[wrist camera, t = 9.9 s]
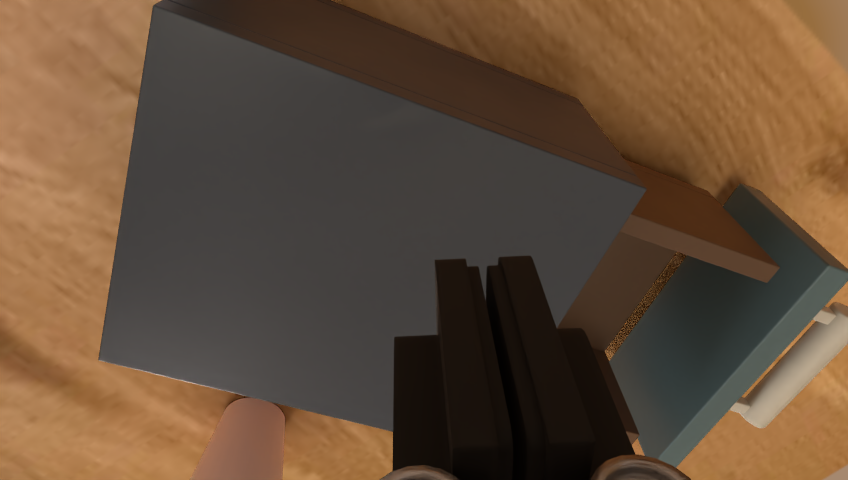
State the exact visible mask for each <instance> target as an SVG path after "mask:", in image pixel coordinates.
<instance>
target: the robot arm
mask: <svg viewBox="0 0 848 480" xmlns="http://www.w3.org/2000/svg"><path fill="white" fill-rule="evenodd" d="M434 267H435V307H436V335H419V336H398V337H394V393H393V471H392V472H390V473H389V474H387V475H386V476H384V477H383V478H381V479H380V480H691V479H690V478H689V477H688V476H686V475H685V474H684V473H682V472H681V471H679V470H678V469H677V468H675V467H674V466H672V465H670V464H668V463H665V462H663V461H661V460H659V459H656V458H652V457H647V456H642V455H635V452H634V450H633V448H632V445H631V443H630V440H629V438H628V435H627V433H626V430H625V428H624V425H623V423H622V421H621V418H620V416H619V413H618V411H617V408H616V406H615V403H614V401H613V398H612V396H611V393H610V391H609V389H608V386H607V384H606V381H605V379H604V376H603V374H602V371H601V369H600V366H599V364H598V361H597V359H596V357H595V354H594V352H593V349H592V347H591V344H590V342H589V339H588V337H587V335H586V333H585V331H584V330H583V329H582V328H567V329H557V328H556V325H555V322H554V319H553V316H552V313H551V310H550V307H549V305H548V302H547V299H546V296H545V293H544V290H543V287H542V284H541V281H540V279H539V276H538V273H537V270H536V267H535V264H534V261H533V259H532V257H531V256H508V257H499V259H498V265H491V266H487V273H486V301H485V296H484V291H483V286H482V281H481V276H480V271H479V267H478V266H469V267H467V262H466V259H465V258H464V259H442V260H435V262H434Z"/></svg>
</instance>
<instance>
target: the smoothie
mask: <svg viewBox="0 0 848 480" xmlns="http://www.w3.org/2000/svg"><path fill="white" fill-rule="evenodd" d="M284 437H285V416H284V414H283V412H282V411H281V409H280V408H279V407H278V406H276V405H275V404H273V403H271V402H268V401H264V400H260V399H256V398H242V399H239V400H236V401H234V402H232V403H231V404H229V405H228V406H227V408H226V409H225V411H224V413H223V415H222V417H221V419H220V421H219V423H218V425H217V427H216V429H215V431H214V433H213V435H212V437H211V439H210V441H209V443H208V445H207V447H206V449H205V451H204V453H203V455H202V457H201V459H200V461H199V463H198V465H197V467H196V469H195V471H194V473H193V475H192V477H191V479H190V480H282V474H283V456H284Z"/></svg>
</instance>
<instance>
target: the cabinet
mask: <svg viewBox="0 0 848 480" xmlns="http://www.w3.org/2000/svg"><path fill="white" fill-rule="evenodd" d="M646 190H647V188H646V187H645V186H644V184H643V183H642V182H641V180H640V179H639V178H638V177H637V176H636V174H635V173H634V172H633V170H632V169H631V168H630V166H629V165H628V164H627V163H626V161H625V160H624V159H623V157H622V156H621V155H620V153H619V152H618V151H617V150H616V148H615V147H614V146H613V144H612V143H611V142H610V140H609V139H608V138H607V137H606V135H605V134H604V133H603V131H602V130H601V129H600V127H599V126H598V125H597V124H596V122H595V121H594V120H593V118H592V117H591V116H590V114H589V113H588V112H587V111H586V109H585V108H584V107H583V105H582V104H581V103H580V101H579V100H578V99H576V98H574V97H571V96H569V95H566V94H564V93H561V92H559V91H556V90H554V89H551V88H549V87H546V86H544V85H541V84H539V83H536V82H534V81H531V80H529V79H526V78H524V77H521V76H519V75H516V74H514V73H511V72H509V71H506V70H504V69H501V68H499V67H496V66H494V65H491V64H489V63H486V62H484V61H481V60H479V59H476V58H474V57H471V56H469V55H466V54H464V53H461V52H459V51H456V50H454V49H451V48H449V47H446V46H444V45H441V44H439V43H436V42H434V41H431V40H428V39H426V38H423V37H421V36H418V35H416V34H413V33H411V32H408V31H406V30H403V29H401V28H398V27H396V26H393V25H391V24H388V23H386V22H383V21H381V20H378V19H376V18H373V17H371V16H368V15H366V14H363V13H361V12H358V11H356V10H353V9H351V8H348V7H346V6H343V5H341V4H338V3H336V2H333V1H331V0H162V1H160V2H158V3H157V4H155V5H154V6H153V10H152V16H151V23H150V29H149V36H148V42H147V49H146V55H145V61H144V68H143V74H142V81H141V87H140V94H139V100H138V107H137V113H136V120H135V126H134V133H133V139H132V146H131V152H130V159H129V165H128V171H127V178H126V184H125V191H124V197H123V204H122V210H121V217H120V223H119V230H118V236H117V243H116V249H115V256H114V262H113V269H112V275H111V281H110V288H109V294H108V301H107V307H106V314H105V320H104V327H103V333H102V340H101V346H100V353H99V361H103V362H107V363H111V364H116V365H120V366H124V367H128V368H132V369H136V370H140V371H144V372H149V373H153V374H157V375H161V376H165V377H169V378H173V379H177V380H182V381H186V382H190V383H194V384H198V385H202V386H206V387H211V388H215V389H219V390H223V391H227V392H231V393H235V394H239V395H244V396H248V397H252V398H256V399H260V400H264V401H268V402H272V403H277V404H281V405H285V406H289V407H293V408H297V409H301V410H306V411H310V412H314V413H318V414H322V415H326V416H330V417H334V418H339V419H343V420H347V421H351V422H355V423H359V424H363V425H367V426H372V427H376V428H380V429H384V430H388V431H392V432H393V393H394V337H398V336H419V335H436V307H435V267H434V262H435V260H442V259H464V258H465V259H466V262H467V267H469V266H478V267H479V271H480V276H481V281H482V286H483V291H484V296H485V301H486V273H487V266H491V265H498V259H499V257H508V256H531V257H532V259H533V261H534V264H535V267H536V270H537V273H538V276H539V279H540V281H541V284H542V287H543V290H544V293H545V296H546V299H547V302H548V305H549V307H550V310H551V313H552V316H553V319H554V322H555V325H556V328H557V327H558V325H559V324H560V322H561V321H562V319H563V318H564V316H565V315H566V313H567V312H568V310H569V309H570V307H571V305H572V304H573V302H574V301H575V299H576V298H577V296H578V295H579V293H580V292H581V290H582V289H583V287H584V285H585V284H586V282H587V281H588V279H589V278H590V276H591V275H592V273H593V272H594V270H595V269H596V267H597V265H598V264H599V262H600V261H601V259H602V258H603V256H604V255H605V253H606V252H607V250H608V249H609V247H610V245H611V244H612V242H613V241H614V239H615V238H616V236H617V235H618V233H619V232H620V230H621V229H622V227H623V225H624V224H625V222H626V221H627V219H628V218H629V216H630V215H631V213H632V212H633V210H634V209H635V207H636V205H637V204H638V202H639V201H640V199H641V198H642V196H643V195H644V193H645V192H646Z"/></svg>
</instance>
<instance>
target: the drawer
mask: <svg viewBox="0 0 848 480" xmlns="http://www.w3.org/2000/svg"><path fill="white" fill-rule="evenodd" d="M624 160H625V159H624ZM625 161H626V163H627V164H628V165H629V166H630V168H631V169H632V170H633V172H634V173H635V174H636V176H637V177H638V178H639V179H640V180H641V182H642V183H643V184H644V186H645V187H646V188H647V190H646V192H645V193H644V195H643V196H642V198H641V199H640V201H639V202H638V204H637V205H636V207H635V209H634V210H633V212H632V213H631V215H630V216H629V218H628V219H627V221H626V222H625V224H624V225H623V227H622V229H621V230H620V232H619V233H618V235H617V236H616V238H615V239H614V241H613V242H612V244H611V245H610V247H609V249H608V250H607V252H606V253H605V255H604V256H603V258H602V259H601V261H600V262H599V264H598V265H597V267H596V269H595V270H594V272H593V273H592V275H591V276H590V278H589V279H588V281H587V282H586V284H585V285H584V287H583V289H582V290H581V292H580V293H579V295H578V296H577V298H576V299H575V301H574V302H573V304H572V305H571V307H570V309H569V310H568V312H567V313H566V315H565V316H564V318H563V319H562V321H561V322H560V324H559V325H558V327H557V329H567V328H582V329H583V330H584V331H585V333H586V335H587V337H588V339H589V342H590V344H591V347H592V349H593V352H594V354H595V357H596V359H597V361H598V364H599V366H600V369H601V371H602V374H603V376H604V379H605V381H606V384H607V386H608V389H609V391H610V393H611V396H612V398H613V401H614V403H615V406H616V408H617V411H618V413H619V416H620V418H621V421H622V423H623V425H624V428H625V430H626V433H627V435H628V438H629V440H630V443H631V445H632V444H633V443H634V441H635V440H636V439H637V438H638V440H639V443H640V445H641V447H642V450H643V452H644V455H645V456H647V457H652V458H656V459H659V460H661V461H663V462H665V463H668V464H670V465H672V466H674V467H675V468H676V467H677V466H678V465H679V464H680V463H681V462H682V460H683V459H684V458H685V457H686V456H687V455H688V454H689V453H690V452H691V451H692V450H693V449H694V447H695V446H696V445H697V444H698V443H699V442H700V441H701V440H702V439H703V438H704V437H705V435H706V434H707V433H708V432H709V431H710V430H711V429H712V428H713V427H714V426H715V425H716V424H717V422H718V421H719V420H720V419H721V418H722V417H723V416H724V415H725V414H726V413H727V412H728V410H731V411H734V412H738V413H740V414H741V416H742V417H743V418H744V419H745V420H746V421H748V422H749V423H750V424H752V425H754V426H756V427H758V428H765V427H766V426H767V425H768V424H769V423H770V422H771V421H772V420H773V419H774V418H775V417H776V416H777V415H778V414H779V413H780V412H781V411H782V410H783V409H784V408H785V407H786V406H787V405H788V404H789V403H790V402H791V401H792V400H793V399H794V398H795V397H796V396H797V395H798V394H799V393H800V392H801V391H802V389H803V388H804V387H805V386H806V385H807V384H808V383H809V382H810V381H811V380H812V379H813V378H814V377H815V376H816V375H817V374H818V373H819V372H820V371H821V370H822V369H823V368H824V367H825V366H826V365H827V364H828V363H829V362H830V361H831V360H832V359H833V358H834V357H835V356H836V355H837V354H838V353H839V352H840V351H841V350H842V349H843V348H844V347H845V346H846V345H847V344H848V307H847V306H845V305H843V304H840V303H837V302H834V303H832V304H831V305H830V306H829V307H825V305H826V304H827V303H828V302H829V301H830V300H831V299H832V298H833V296H834V295H835V294H836V293H837V292H838V291H839V290H840V289H841V288H842V287H843V286H844V284H845V283H846V282H847V281H848V269H847V268H846V267H845V266H844V265H843V264H841V263H840V262H839V261H838V260H837V259H836V258H835V257H834V256H832V255H831V254H830V253H829V252H828V251H827V250H826V249H825V248H824V247H822V246H821V245H820V244H819V243H818V242H817V241H816V240H815V239H813V238H812V237H811V236H810V235H809V234H808V233H807V232H806V231H805V230H803V229H802V228H801V227H800V226H799V225H798V224H797V223H796V222H794V221H793V220H792V219H791V218H790V217H789V216H788V215H787V214H785V213H784V212H783V211H782V210H781V209H780V208H779V207H778V206H777V205H775V204H774V203H773V202H772V201H771V200H770V199H769V198H768V197H766V196H765V195H764V194H763V193H762V192H761V191H760V190H757V189H754V188H752V187H749V186H747V185H744V184H741V183H740V184H739V185H738V186H737V188H736V189H735V191H734V192H733V193H732V195H731V196H730V197H729V199H728V200H727V201H726V203H725V204H724V206H723V207H722V206H721V205H720V204H719V203H718V202H717V200H716V199H714V197H713V196H712V195H711V194H710V193H709V192H708V191H706V190H704V189H701V188H699V187H696V186H693V185H691V184H688V183H686V182H683V181H680V180H678V179H675V178H672V177H670V176H667V175H665V174H662V173H659V172H657V171H654V170H651V169H649V168H646V167H644V166H641V165H638V164H636V163H633V162H630V161H628V160H625ZM676 252H680V253H683V254H685V255H687V256H686V257H685V259H684V260H683V261H682V263H681V264H680V265H679V267H678V268H677V270H676V271H675V272H674V274H673V275H672V276H671V278H670V279H669V280H668V282H667V283H666V285H665V286H664V287H663V289H662V290H661V291H660V293H659V294H658V295H657V297H656V298H655V300H654V301H653V302H652V304H651V305H650V306H649V308H648V309H647V310H646V312H645V313H644V315H643V316H642V317H641V319H640V320H639V321H638V323H637V324H636V325H635V327H634V328H633V330H632V331H631V332H630V334H629V335H628V336H627V338H626V339H625V340H624V342H623V343H622V345H621V346H620V347H619V349H618V350H617V351H616V353H615V354H614V355H613V357H612V358H611V360H610V361H608V358H607V356H606V354H605V350H606V349H607V347H608V346H609V345H610V343H611V342H612V340H613V339H614V338H615V336H616V335H617V333H618V332H619V331H620V329H621V328H622V327H623V325H624V324H625V322H626V321H627V320H628V318H629V317H630V315H631V314H632V313H633V311H634V310H635V308H636V307H637V306H638V304H639V303H640V302H641V300H642V299H643V297H644V296H645V295H646V293H647V292H648V290H649V289H650V288H651V286H652V285H653V284H654V282H655V281H656V279H657V278H658V277H659V275H660V274H661V272H662V271H663V270H664V268H665V267H666V265H667V264H668V263H669V261H670V260H671V259H672V257H673V256H674V254H675V253H676ZM811 320H815V323H814V324H813V325H812V326H811V327H810V328H809V329H808V330H807V331H806V332H805V333H804V334H803V336H802V337H801V338H800V339H799V340H798V341H797V342H796V343H795V344H794V345H793V346H792V347H791V348H790V350H789V351H788V352H787V353H786V354H785V355H784V356H783V357H782V358H781V359H780V360H779V361H778V363H777V364H776V365H775V366H774V367H773V368H772V369H771V370H770V371H769V372H768V373H767V374H766V375H765V377H764V378H763V379H762V380H761V381H760V382H759V383H758V384H757V385H756V386H755V387H754V388H753V390H752V391H751V392H750V393H749V394H748V395H747V396H746V397H745V398H743V397H741V396H742V395H743V394H744V393H745V392H746V391H747V390H748V389H749V388H750V387H751V386H752V384H753V383H754V382H755V381H756V380H757V379H758V378H759V377H760V376H761V375H762V374H763V372H764V371H765V370H766V369H767V368H768V367H769V366H770V365H771V364H772V363H773V362H774V361H775V359H776V358H777V357H778V356H779V355H780V354H781V353H782V352H783V351H784V350H785V349H786V347H787V346H788V345H789V344H790V343H791V342H792V341H793V340H794V339H795V338H796V337H797V336H798V334H799V333H800V332H801V331H802V330H803V329H804V328H805V327H806V326H807V325H808V324H809V322H810V321H811Z"/></svg>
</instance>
